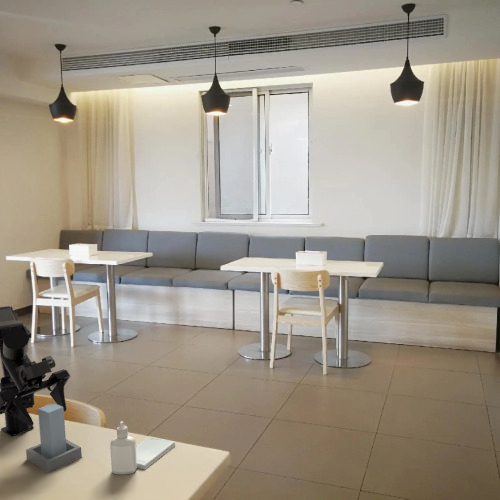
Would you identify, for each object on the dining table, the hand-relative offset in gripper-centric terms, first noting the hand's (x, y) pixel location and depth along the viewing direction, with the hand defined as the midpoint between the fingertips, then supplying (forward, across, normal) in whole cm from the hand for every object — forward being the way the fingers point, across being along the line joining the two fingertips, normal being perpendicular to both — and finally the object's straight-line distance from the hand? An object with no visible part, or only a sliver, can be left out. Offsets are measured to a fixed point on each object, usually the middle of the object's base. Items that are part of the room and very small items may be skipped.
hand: (49, 417), depth 128 cm
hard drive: (+21, +14, -6) cm, 26 cm away
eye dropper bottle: (+22, +5, -7) cm, 24 cm away
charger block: (+8, 0, +6) cm, 10 cm away
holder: (+8, 0, +6) cm, 10 cm away
